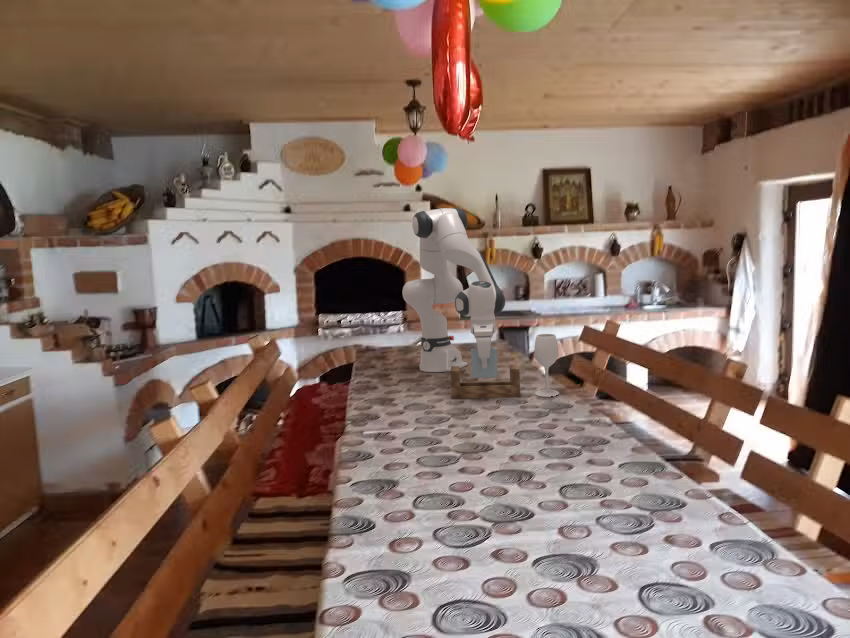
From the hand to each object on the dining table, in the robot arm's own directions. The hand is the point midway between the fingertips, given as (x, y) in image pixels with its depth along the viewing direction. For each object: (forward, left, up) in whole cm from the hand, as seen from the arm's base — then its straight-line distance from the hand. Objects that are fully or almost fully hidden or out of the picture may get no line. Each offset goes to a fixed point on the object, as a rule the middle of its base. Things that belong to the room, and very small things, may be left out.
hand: (484, 366), depth 232 cm
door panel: (0, 0, -4) cm, 4 cm away
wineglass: (-12, +18, -11) cm, 24 cm away
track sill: (0, 0, -10) cm, 10 cm away
